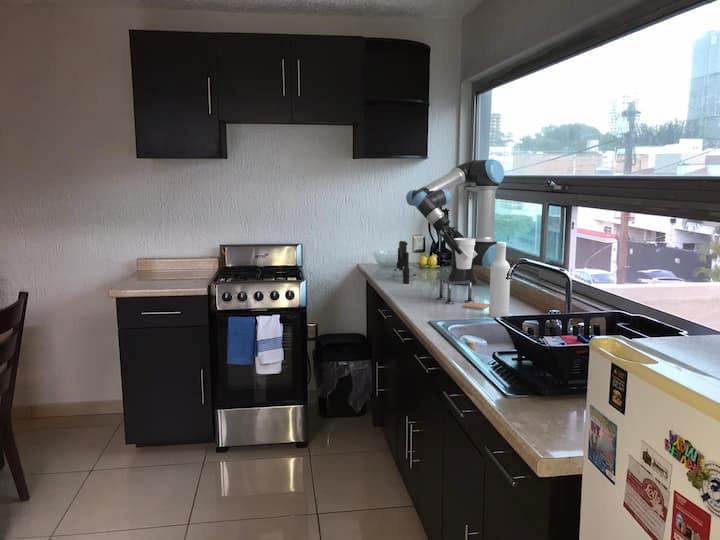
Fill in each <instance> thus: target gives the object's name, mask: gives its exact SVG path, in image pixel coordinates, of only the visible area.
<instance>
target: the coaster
mask: <svg viewBox="0 0 720 540" xmlns="http://www.w3.org/2000/svg"><path fill="white" fill-rule="evenodd" d="M461 308H462V309H471V310H480V311H483V310H485V309H487V308H489V303H483V302H477V301H476V302H475V301H474V302H468V303H464V304H461Z"/></svg>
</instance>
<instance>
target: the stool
mask: <svg viewBox="0 0 720 540" xmlns="http://www.w3.org/2000/svg"><path fill="white" fill-rule="evenodd" d="M408 245H409V244H408V242H407V241H405V240H404V241H403V240H400V241H398V248H397V262H396V268H394V270H392V275H391V276H390V277H389V278H388V279H387V280H388V281H391V282H392V281H396V282H398V281H402V284H404V285H408V284H410V282H413V281H418V280H417V274H416V273H414V266H409V263H410V262H409V259H410V258H409V257H410V254H409V252H408V251H407V249H408V248H407V246H408Z"/></svg>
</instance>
